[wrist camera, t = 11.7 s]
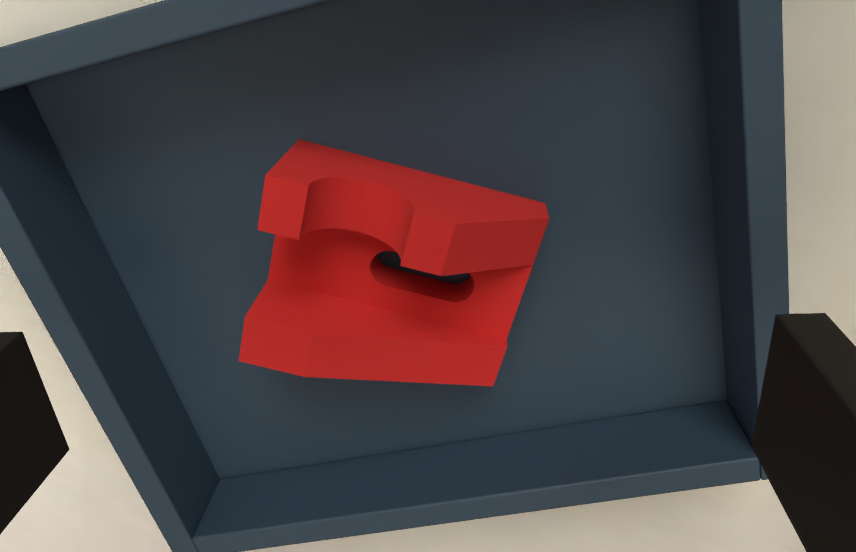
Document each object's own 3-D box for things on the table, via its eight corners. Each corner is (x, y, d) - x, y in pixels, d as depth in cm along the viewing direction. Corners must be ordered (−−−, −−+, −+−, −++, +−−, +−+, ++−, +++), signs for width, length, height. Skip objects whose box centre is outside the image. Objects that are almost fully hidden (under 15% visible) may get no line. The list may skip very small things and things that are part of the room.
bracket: (272, 302, 19) (238, 360, 16) (299, 139, 17) (265, 175, 14) (492, 356, 19) (494, 422, 16) (545, 203, 17) (558, 249, 14)
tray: (718, -151, 14) (779, -176, 11) (749, 403, 20) (793, 476, 17) (-4, 54, 17) (-99, 75, 14) (213, 487, 23) (176, 561, 20)
